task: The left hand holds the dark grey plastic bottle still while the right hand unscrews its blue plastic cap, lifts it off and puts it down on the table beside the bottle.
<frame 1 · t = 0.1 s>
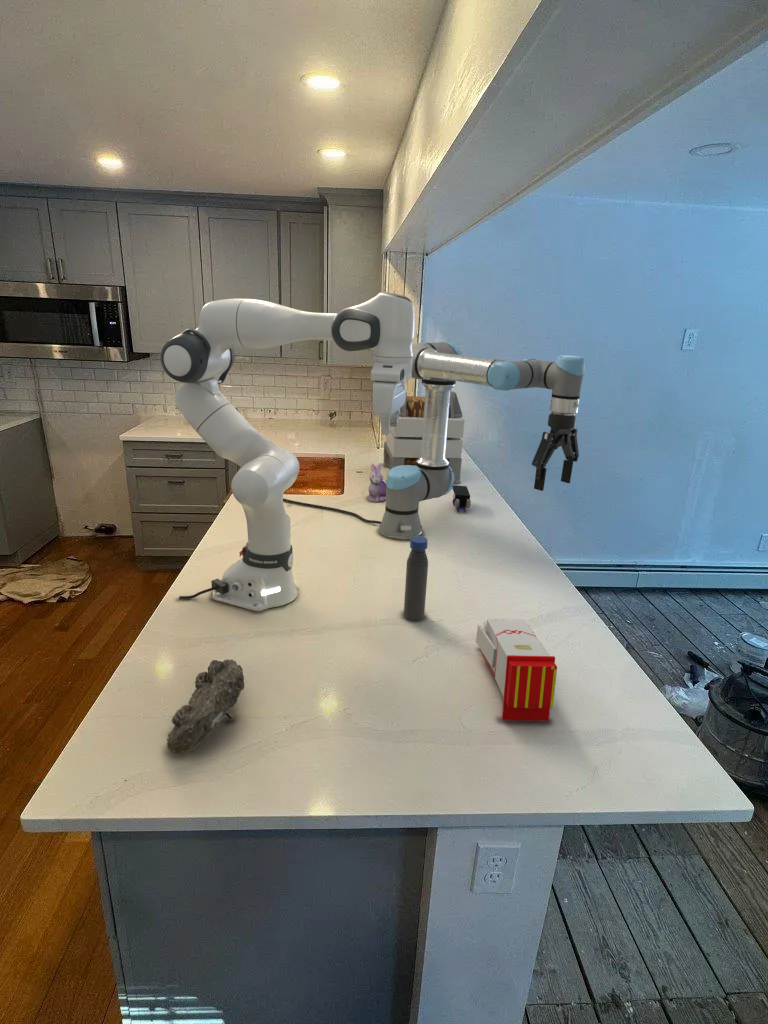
left hand: (389, 430, 132), 48 cm above the counter, tool pointing down, fingers open, 8 cm apart
right hand: (552, 485, 166), 28 cm above the counter, tool pointing down, fingers open, 13 cm apart
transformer: (419, 473, 275), on the counter
cap: (419, 540, 140), point 21 cm above the counter, screwed on, not yet turned
bottle: (413, 615, 147), on the counter
fossil: (212, 717, 108), on the counter
toy: (508, 678, 123), on the counter
figurine: (377, 499, 235), on the counter
figurine character: (460, 507, 229), on the counter
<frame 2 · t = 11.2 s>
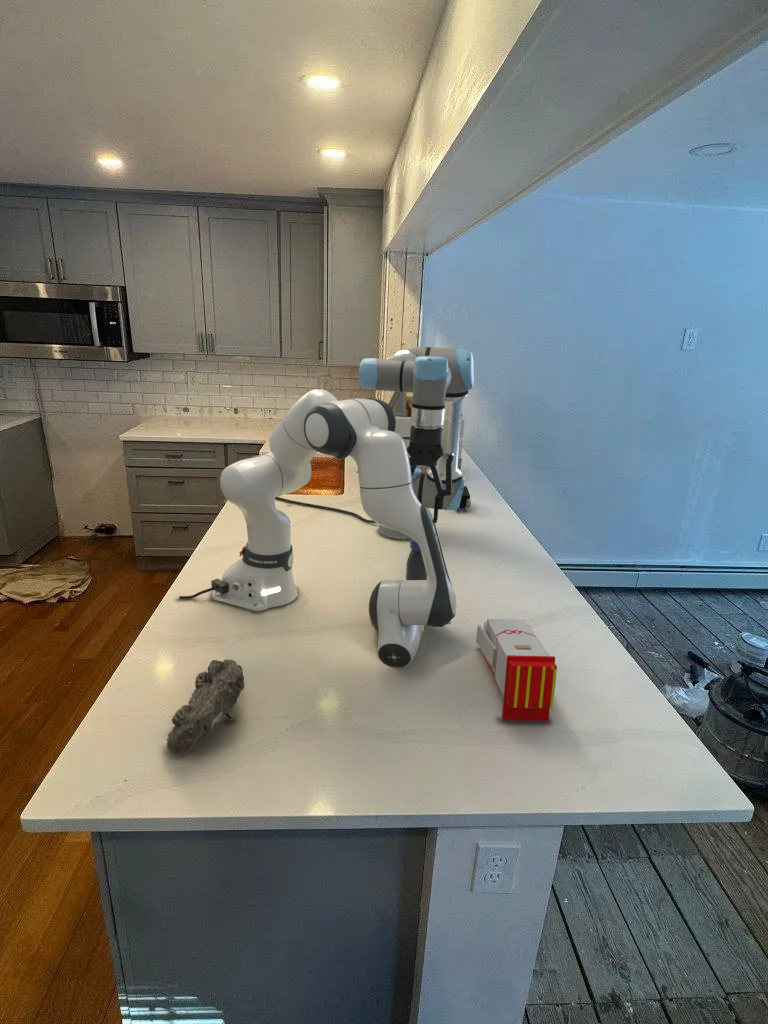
left hand: (415, 592, 146), 6 cm above the counter, tool horizontal, fingers closed on bottle, 5 cm apart
right hand: (420, 519, 138), 27 cm above the counter, tool pointing down, fingers open, 7 cm apart
bottle: (413, 615, 147), on the counter, touching left hand
everything else where it was.
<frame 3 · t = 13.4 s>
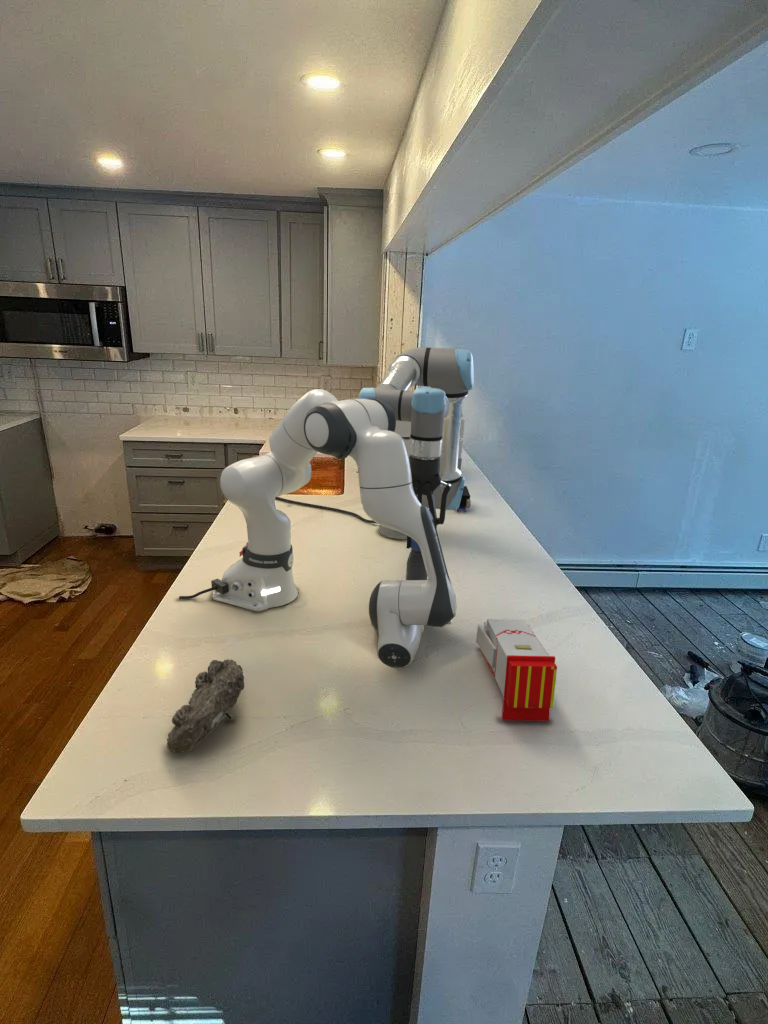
left hand: (415, 592, 146), 6 cm above the counter, tool horizontal, fingers closed on bottle, 5 cm apart
right hand: (418, 547, 141), 19 cm above the counter, tool pointing down, fingers closed on cap, 4 cm apart
cap: (419, 540, 140), point 21 cm above the counter, screwed on, not yet turned, touching right hand
bottle: (413, 615, 147), on the counter, touching left hand
everything else where it was.
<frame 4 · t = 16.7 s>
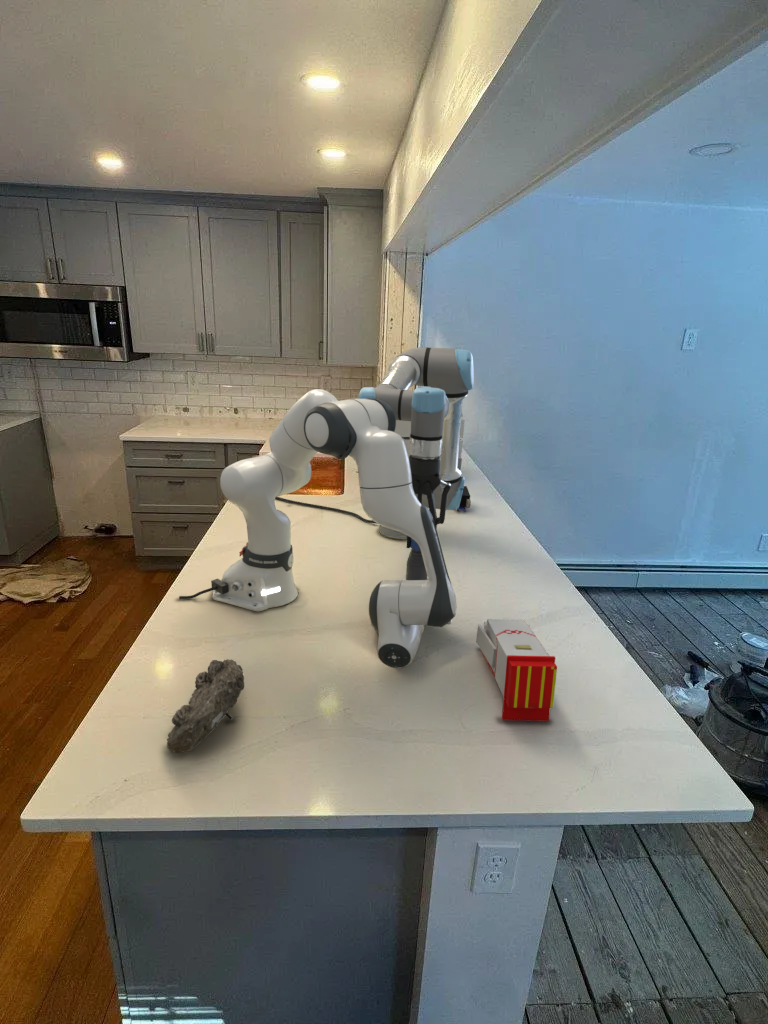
left hand: (415, 592, 146), 6 cm above the counter, tool horizontal, fingers closed on bottle, 5 cm apart
right hand: (418, 547, 141), 19 cm above the counter, tool pointing down, fingers closed on cap, 4 cm apart
cap: (419, 540, 140), point 21 cm above the counter, turned 111° so far, risen 0.1 cm, still on its thread, touching right hand
bottle: (413, 615, 147), on the counter, touching left hand
everything else where it was.
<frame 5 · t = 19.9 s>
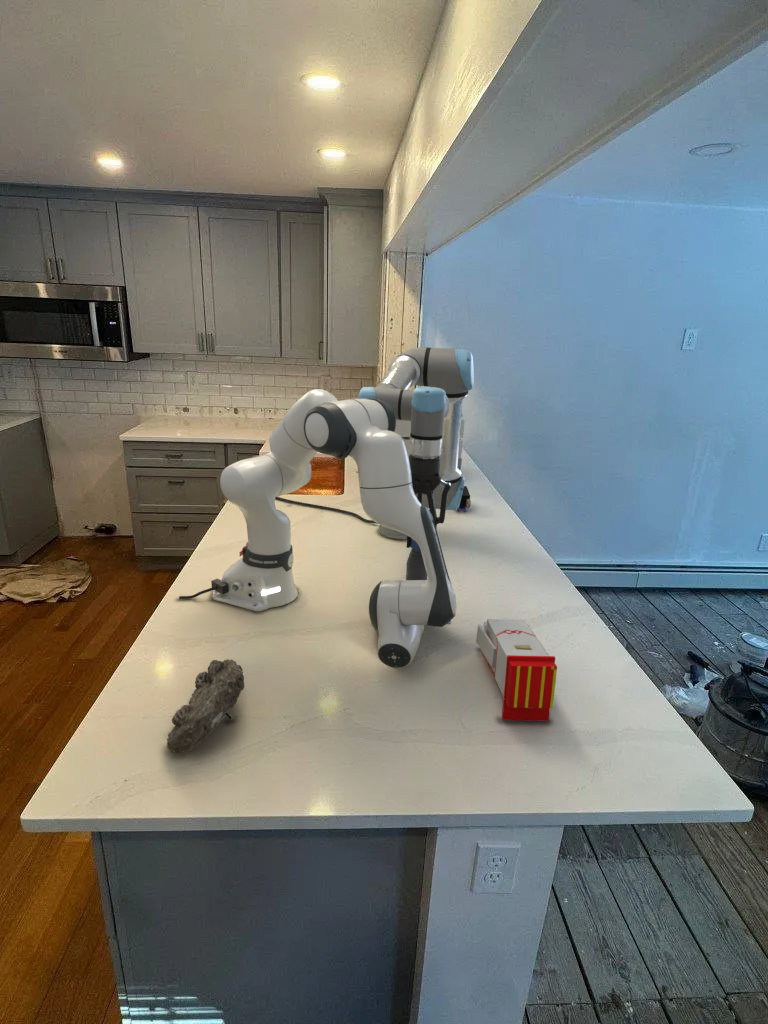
left hand: (415, 592, 146), 6 cm above the counter, tool horizontal, fingers closed on bottle, 5 cm apart
right hand: (418, 546, 141), 19 cm above the counter, tool pointing down, fingers closed on cap, 4 cm apart
cap: (419, 539, 140), point 21 cm above the counter, turned 222° so far, risen 0.2 cm, still on its thread, touching right hand
bottle: (413, 615, 147), on the counter, touching left hand
everything else where it was.
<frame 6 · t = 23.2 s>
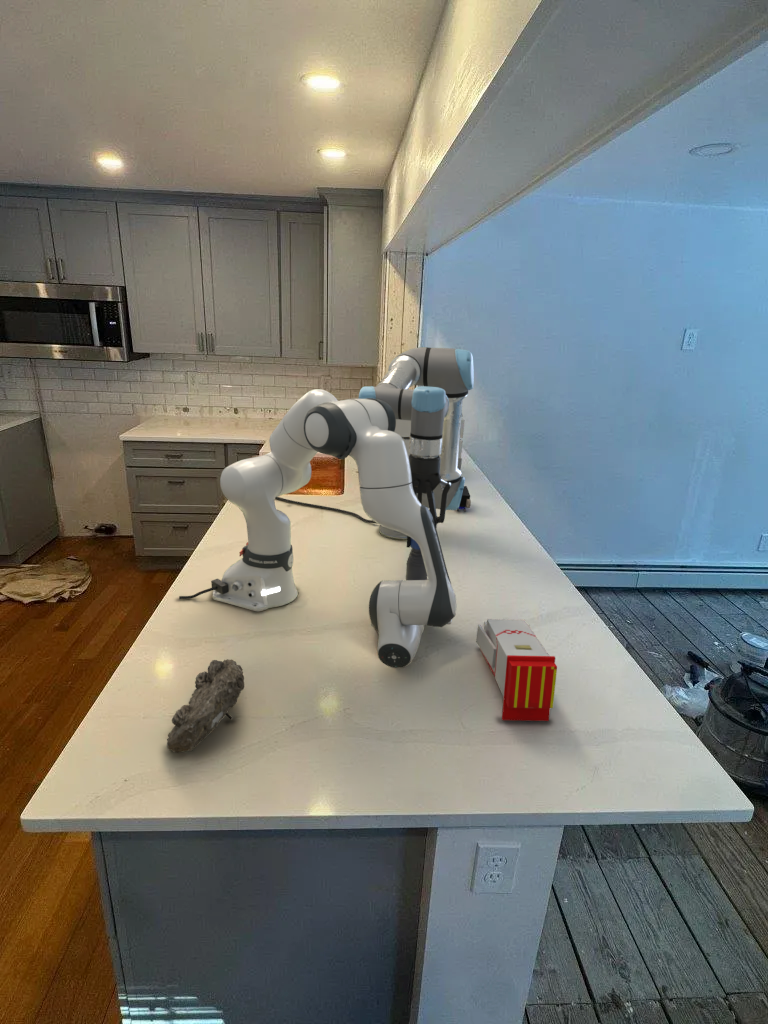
left hand: (415, 592, 146), 6 cm above the counter, tool horizontal, fingers closed on bottle, 5 cm apart
right hand: (418, 546, 141), 20 cm above the counter, tool pointing down, fingers closed on cap, 4 cm apart
cap: (419, 539, 140), point 21 cm above the counter, turned 332° so far, risen 0.3 cm, still on its thread, touching right hand
bottle: (413, 615, 147), on the counter, touching left hand
everything else where it was.
when the right hand's fingers open (2 cm above the counter, at t = 29.4 s): cap drops 2 cm, point 2 cm above the counter.
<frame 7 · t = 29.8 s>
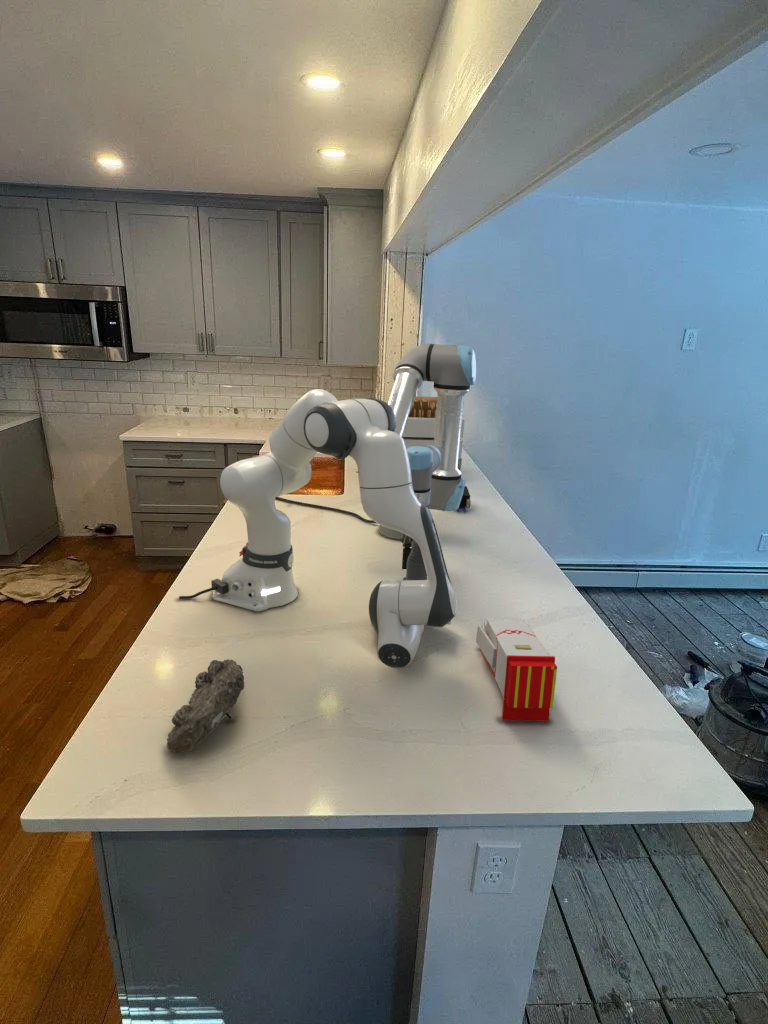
left hand: (415, 592, 146), 6 cm above the counter, tool horizontal, fingers closed on bottle, 5 cm apart
right hand: (410, 577, 161), 3 cm above the counter, tool pointing down, fingers open, 10 cm apart
cap: (410, 580, 162), point 2 cm above the counter, off its thread
bottle: (413, 615, 147), on the counter, touching left hand
everything else where it was.
when the left hand's fingers open (6 cm above the counter, at t = 30.7 s): bottle stays where it is, on the counter.
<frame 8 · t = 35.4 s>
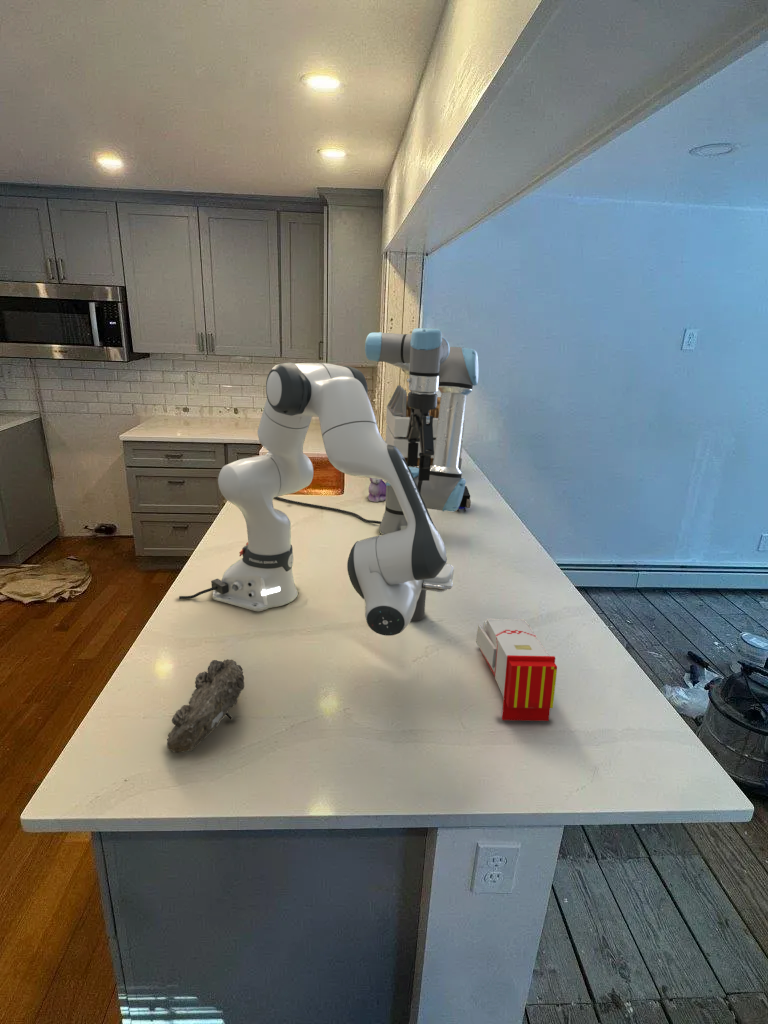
left hand: (411, 557, 130), 21 cm above the counter, tool horizontal, fingers open, 8 cm apart
right hand: (417, 473, 151), 34 cm above the counter, tool pointing down, fingers open, 13 cm apart
bottle: (413, 615, 147), on the counter
everything else where it was.
at the end: cap came off its thread; cap point 1.8 cm above the counter; the left hand is holding nothing; the right hand is holding nothing; bottle tilted 0°; bottle moved 0.0 cm from its start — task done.
